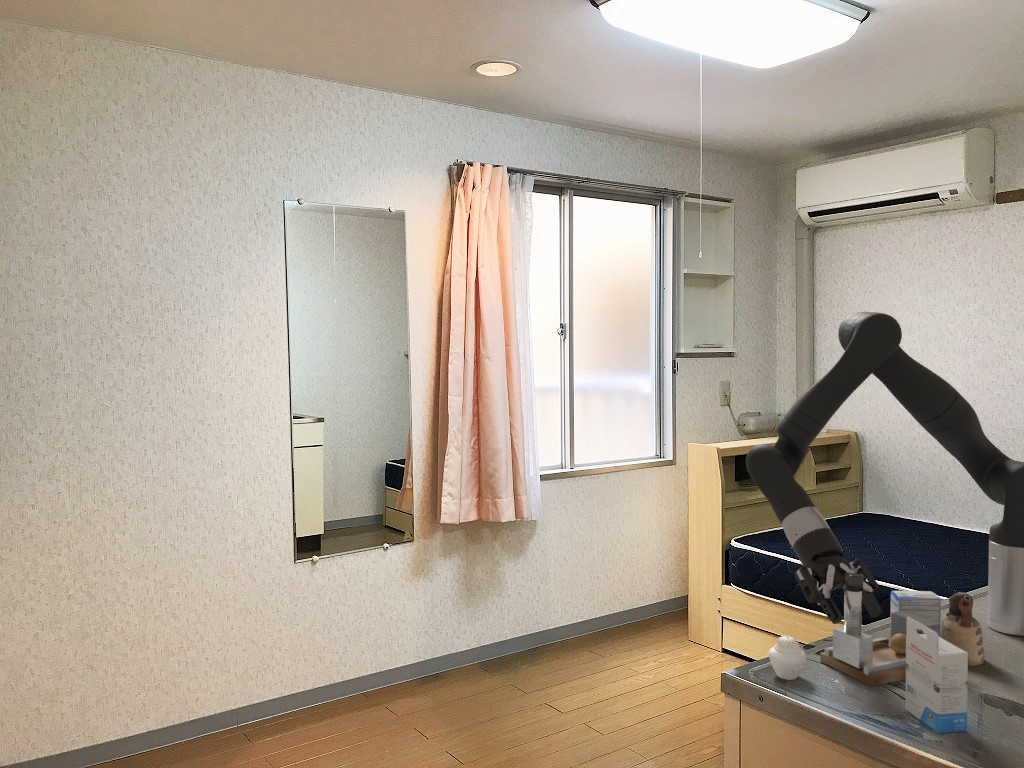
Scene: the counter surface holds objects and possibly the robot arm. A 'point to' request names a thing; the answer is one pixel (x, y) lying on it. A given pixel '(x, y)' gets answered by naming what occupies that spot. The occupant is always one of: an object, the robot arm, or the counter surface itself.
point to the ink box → (935, 680)
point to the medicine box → (917, 604)
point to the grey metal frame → (896, 627)
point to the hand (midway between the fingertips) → (858, 618)
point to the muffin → (787, 658)
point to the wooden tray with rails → (880, 655)
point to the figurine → (963, 628)
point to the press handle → (853, 626)
